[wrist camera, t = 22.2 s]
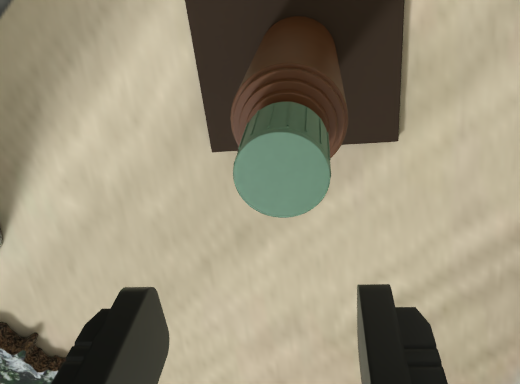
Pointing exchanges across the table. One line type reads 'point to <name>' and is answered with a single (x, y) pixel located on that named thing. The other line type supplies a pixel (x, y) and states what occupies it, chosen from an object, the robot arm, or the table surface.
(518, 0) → the table surface
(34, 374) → the topographical map
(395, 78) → the coaster
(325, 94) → the bottle
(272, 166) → the cap
